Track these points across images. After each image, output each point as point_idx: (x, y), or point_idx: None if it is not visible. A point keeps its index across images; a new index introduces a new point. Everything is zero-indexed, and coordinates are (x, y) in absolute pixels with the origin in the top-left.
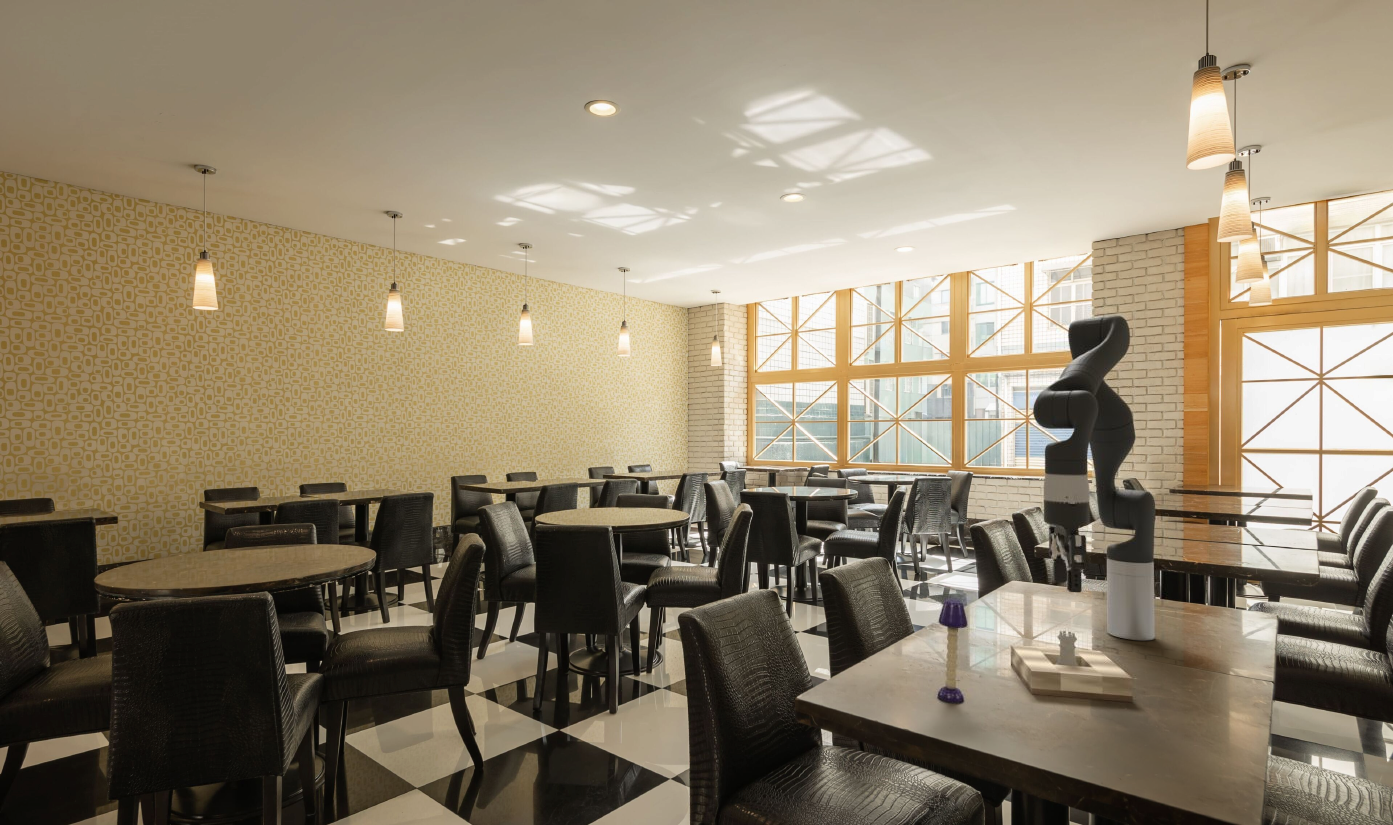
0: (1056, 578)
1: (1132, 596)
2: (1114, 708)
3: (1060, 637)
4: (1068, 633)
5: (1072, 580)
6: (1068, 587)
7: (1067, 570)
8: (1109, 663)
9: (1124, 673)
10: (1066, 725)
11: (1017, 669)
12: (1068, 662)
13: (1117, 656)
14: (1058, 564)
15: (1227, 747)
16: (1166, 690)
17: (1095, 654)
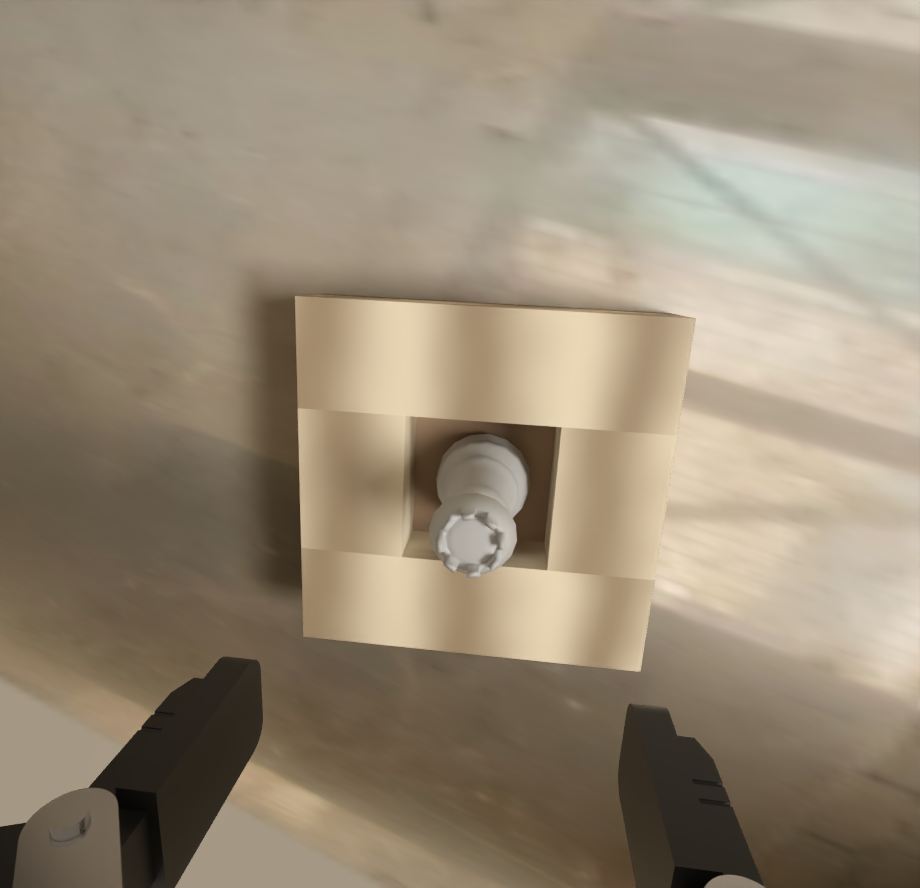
0: (635, 733)
1: None
2: (260, 518)
3: (455, 501)
4: (493, 555)
5: (133, 738)
6: (211, 673)
7: (154, 798)
8: (466, 636)
9: (353, 635)
10: (67, 317)
11: (548, 307)
12: (448, 489)
13: (830, 759)
14: (664, 882)
15: (64, 665)
16: (464, 734)
17: (584, 635)
